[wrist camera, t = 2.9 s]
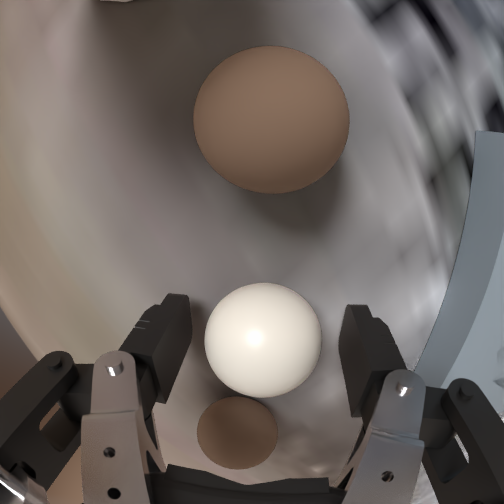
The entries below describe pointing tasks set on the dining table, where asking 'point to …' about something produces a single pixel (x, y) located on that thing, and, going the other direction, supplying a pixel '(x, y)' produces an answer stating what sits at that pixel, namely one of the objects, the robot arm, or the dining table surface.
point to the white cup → (118, 0)
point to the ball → (263, 340)
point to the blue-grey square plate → (475, 287)
